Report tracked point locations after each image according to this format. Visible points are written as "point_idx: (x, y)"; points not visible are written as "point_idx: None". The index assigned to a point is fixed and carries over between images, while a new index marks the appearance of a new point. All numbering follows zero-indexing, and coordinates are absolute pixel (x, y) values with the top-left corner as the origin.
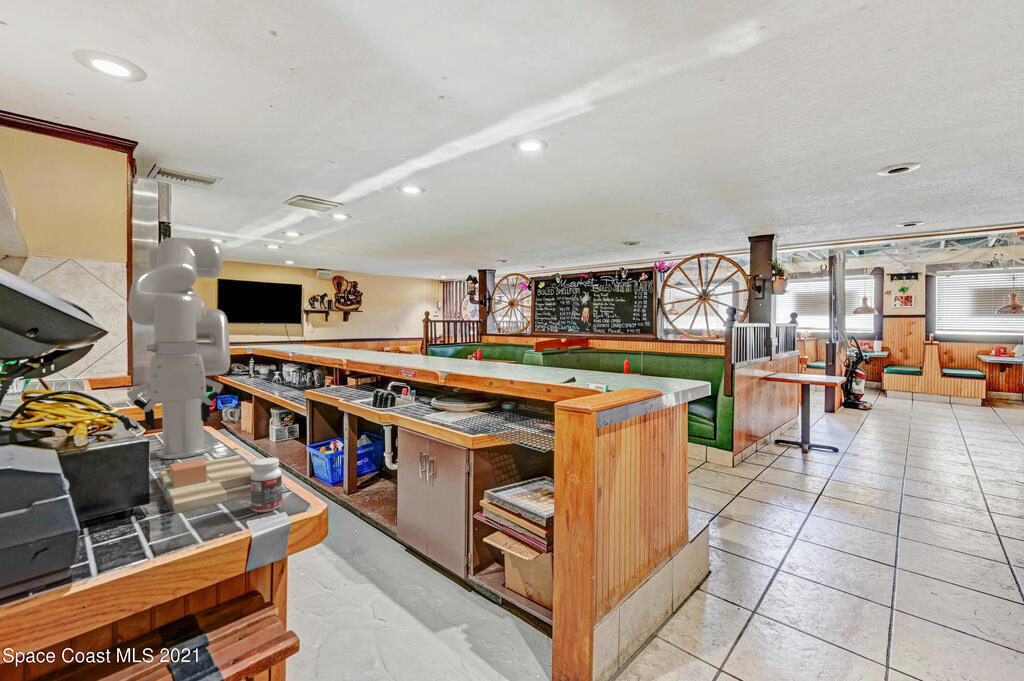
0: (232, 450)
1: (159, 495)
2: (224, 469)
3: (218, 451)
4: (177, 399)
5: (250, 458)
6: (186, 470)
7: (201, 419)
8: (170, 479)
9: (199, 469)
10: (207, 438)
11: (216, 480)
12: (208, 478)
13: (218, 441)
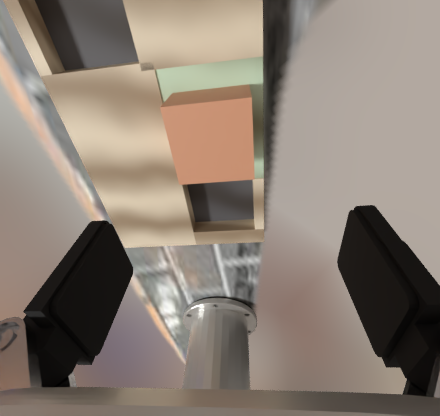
0: (149, 296)
1: (275, 118)
2: (139, 170)
3: (171, 301)
4: (228, 411)
5: None
6: (216, 99)
7: (130, 267)
8: None
9: (181, 102)
10: None
11: (147, 83)
12: None
13: (174, 336)
